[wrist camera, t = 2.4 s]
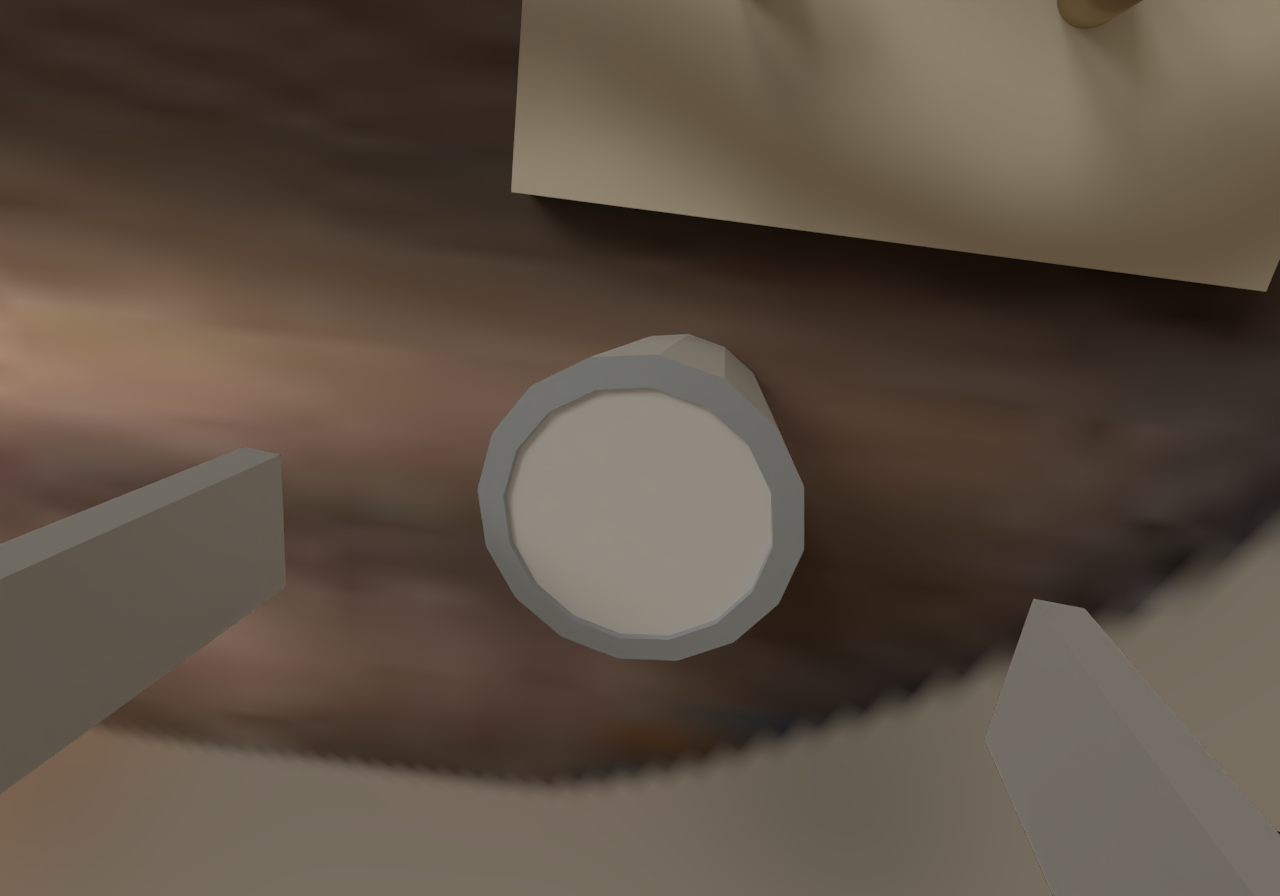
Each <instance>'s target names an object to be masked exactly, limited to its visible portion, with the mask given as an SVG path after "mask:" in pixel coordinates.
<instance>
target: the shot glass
mask: <svg viewBox="0 0 1280 896" xmlns="http://www.w3.org/2000/svg"><path fill="white" fill-rule="evenodd" d="M477 490H478V496H479V503H480V509H481V516H482V523H483V529H484V536H485V543H486V547H487V549H488V551H489V553H490V554H491V556H492V558H493V560H494V561H495V563H496V565H497V566H498V568H499V570H500V572H501V573H502V575H503V577H504V579H505V580H506V582H507V584H508V586H509V587H510V589H511V591H512V592H513V594H514V596H515V598H516V599H518V600H519V601H520V602H521V603H522V604H523V605H525V606H526V607H527V608H528V609H529V610H531V611H532V612H533V613H534V614H535V615H536V616H538V617H539V618H540V619H541V620H542V621H544V622H545V623H546V624H547V625H548V626H549V627H551V628H552V629H553V630H554V631H555V632H557V633H558V634H559V635H560V636H561V637H564V638H566V639H569V640H571V641H574V642H577V643H579V644H582V645H584V646H587V647H589V648H592V649H594V650H597V651H600V652H602V653H605V654H607V655H610V656H612V657H615V658H618V659H644V660H670V661H678V660H681V659H684V658H687V657H690V656H694V655H697V654H700V653H703V652H706V651H709V650H712V649H715V648H718V647H721V646H724V645H727V644H730V643H733V642H735V641H736V640H737V639H738V638H739V637H741V636H742V635H743V634H744V633H745V632H746V631H748V630H749V629H750V628H751V627H752V626H753V625H755V624H756V623H757V622H758V621H759V620H760V619H762V618H763V617H764V616H765V615H766V614H767V613H769V612H770V611H771V610H772V609H773V608H774V607H776V606H777V605H778V604H779V602H780V600H781V598H782V596H783V594H784V591H785V589H786V587H787V585H788V583H789V581H790V579H791V577H792V574H793V572H794V570H795V568H796V566H797V564H798V562H799V560H800V557H801V555H802V553H803V551H804V485H803V483H802V481H801V479H800V476H799V474H798V472H797V470H796V467H795V465H794V463H793V461H792V458H791V456H790V454H789V452H788V449H787V447H786V445H785V442H784V440H783V438H782V436H781V433H780V431H779V429H778V427H777V424H776V422H775V420H774V418H773V415H772V413H771V411H770V409H769V406H768V404H767V402H766V400H765V398H764V395H763V393H762V391H761V389H760V387H759V384H758V382H757V380H756V378H755V376H754V374H753V372H752V371H751V370H749V369H748V368H747V367H746V366H745V365H744V364H743V363H742V362H741V361H740V360H739V359H737V358H736V357H735V356H734V355H733V354H732V353H731V352H730V351H729V350H728V349H727V348H725V347H723V346H720V345H718V344H715V343H712V342H709V341H707V340H704V339H701V338H698V337H695V336H693V335H690V334H682V335H661V336H650V337H647V338H644V339H641V340H638V341H635V342H632V343H629V344H627V345H624V346H621V347H618V348H615V349H612V350H609V351H606V352H603V353H601V354H598V355H595V356H592V357H589V358H587V359H585V360H583V361H581V362H579V363H577V364H575V365H573V366H571V367H568V368H566V369H564V370H562V371H560V372H558V373H556V374H554V375H552V376H550V377H548V378H546V379H544V380H542V381H540V382H538V383H536V384H533V385H531V386H530V388H529V389H528V390H527V391H526V392H525V394H524V395H523V396H522V397H521V398H520V400H519V401H518V402H517V403H516V405H515V406H514V407H513V408H512V409H511V411H510V412H509V413H508V414H507V415H506V417H505V418H504V419H503V420H502V422H501V423H500V424H499V425H498V426H497V428H496V429H495V430H494V431H493V432H492V436H491V440H490V444H489V447H488V451H487V455H486V459H485V462H484V466H483V470H482V474H481V478H480V481H479V485H478V489H477Z"/></svg>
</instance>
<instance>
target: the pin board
mask: <svg viewBox="0 0 1280 896" xmlns="http://www.w3.org/2000/svg"><path fill="white" fill-rule="evenodd" d="M511 192H515V193H522V194H529V195H537V196H544V197H552V198H559V199H567V200H575V201H582V202H590V203H597V204H605V205H612V206H620V207H628V208H635V209H643V210H650V211H658V212H665V213H673V214H681V215H688V216H696V217H703V218H711V219H718V220H726V221H733V222H741V223H749V224H756V225H764V226H771V227H779V228H786V229H794V230H802V231H809V232H817V233H824V234H832V235H839V236H847V237H855V238H862V239H870V240H877V241H885V242H892V243H900V244H908V245H915V246H923V247H930V248H938V249H945V250H953V251H960V252H968V253H976V254H983V255H991V256H998V257H1006V258H1013V259H1021V260H1029V261H1036V262H1044V263H1051V264H1059V265H1066V266H1074V267H1082V268H1089V269H1097V270H1104V271H1112V272H1119V273H1127V274H1134V275H1142V276H1150V277H1157V278H1165V279H1172V280H1180V281H1187V282H1195V283H1203V284H1210V285H1218V286H1225V287H1233V288H1241V289H1249V290H1257V291H1265V292H1266V291H1267V288H1268V286H1269V284H1270V281H1271V279H1272V276H1273V274H1274V272H1275V269H1276V267H1277V264H1278V262H1279V260H1280V0H523V2H522V18H521V35H520V52H519V69H518V86H517V102H516V119H515V136H514V153H513V169H512V186H511Z"/></svg>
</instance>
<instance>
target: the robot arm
mask: <svg viewBox="0 0 1280 896" xmlns="http://www.w3.org/2000/svg"><path fill="white" fill-rule="evenodd" d="M285 587H286V573H285V548H284V523H283V498H282V473H281V454H276V453H271V452H265V451H260V450H255V449H250V448H244V447H242V448H240V449H237V450H235V451H232V452H230V453H227V454H225V455H222V456H220V457H217V458H215V459H212V460H210V461H207V462H205V463H202V464H200V465H197V466H195V467H192V468H190V469H187V470H185V471H182V472H180V473H177V474H175V475H172V476H170V477H167V478H165V479H162V480H160V481H157V482H155V483H152V484H149V485H147V486H144V487H142V488H139V489H137V490H134V491H132V492H129V493H127V494H124V495H122V496H119V497H117V498H114V499H112V500H109V501H107V502H104V503H102V504H99V505H97V506H94V507H92V508H89V509H87V510H84V511H82V512H79V513H77V514H74V515H72V516H69V517H67V518H64V519H62V520H59V521H57V522H54V523H52V524H49V525H47V526H44V527H42V528H39V529H37V530H34V531H32V532H29V533H27V534H24V535H22V536H19V537H17V538H14V539H12V540H9V541H7V542H4V543H2V544H0V794H1V793H3V792H4V791H5V790H7V789H8V788H9V787H11V786H12V785H14V784H15V783H16V782H18V781H19V780H20V779H22V778H23V777H24V776H26V775H27V774H29V773H30V772H31V771H33V770H34V769H35V768H37V767H38V766H40V765H41V764H42V763H44V762H45V761H47V760H48V759H49V758H51V757H52V756H54V755H55V754H56V753H58V752H59V751H60V750H62V749H63V748H65V747H66V746H67V745H69V744H70V743H71V742H73V741H74V740H75V739H77V738H78V737H80V736H81V735H82V734H84V733H85V732H87V731H88V730H89V729H91V728H92V727H93V726H95V725H96V724H98V723H99V722H100V721H102V720H103V719H104V718H106V717H107V716H109V715H110V714H111V713H113V712H114V711H116V710H117V709H118V708H120V707H121V706H122V705H124V704H125V703H127V702H128V701H129V700H131V699H132V698H133V697H135V696H136V695H138V694H139V693H140V692H142V691H143V690H144V689H146V688H147V687H149V686H150V685H151V684H153V683H154V682H155V681H157V680H158V679H160V678H161V677H162V676H164V675H165V674H167V673H168V672H169V671H171V670H172V669H173V668H175V667H176V666H178V665H179V664H180V663H182V662H183V661H184V660H186V659H187V658H189V657H190V656H191V655H193V654H194V653H195V652H197V651H198V650H200V649H201V648H202V647H204V646H205V645H206V644H208V643H209V642H211V641H212V640H213V639H215V638H216V637H217V636H219V635H220V634H222V633H223V632H224V631H226V630H227V629H229V628H230V627H231V626H233V625H234V624H235V623H237V622H238V621H240V620H241V619H242V618H244V617H245V616H246V615H248V614H249V613H251V612H252V611H253V610H255V609H256V608H257V607H259V606H260V605H262V604H263V603H264V602H266V601H267V600H268V599H270V598H271V597H273V596H274V595H275V594H277V593H278V592H280V591H281V590H282V589H284V588H285ZM984 740H985V742H986V745H987V747H988V749H989V752H990V754H991V756H992V758H993V761H994V763H995V765H996V768H997V770H998V772H999V774H1000V777H1001V779H1002V781H1003V783H1004V786H1005V788H1006V790H1007V793H1008V795H1009V797H1010V799H1011V802H1012V804H1013V806H1014V809H1015V811H1016V813H1017V816H1018V818H1019V820H1020V822H1021V824H1022V827H1023V829H1024V832H1025V834H1026V836H1027V839H1028V841H1029V843H1030V845H1031V848H1032V849H1033V852H1034V855H1035V857H1036V859H1037V861H1038V864H1039V866H1040V868H1041V871H1042V873H1043V875H1044V877H1045V880H1046V882H1047V884H1048V887H1049V889H1050V891H1051V893H1052V896H1280V832H1278V831H1276V830H1275V829H1274V828H1273V826H1272V825H1271V824H1270V823H1269V822H1268V821H1267V819H1266V818H1265V817H1264V816H1263V815H1262V814H1261V812H1260V811H1259V810H1258V809H1257V808H1256V807H1255V805H1254V804H1253V803H1252V802H1251V801H1250V800H1249V799H1248V797H1247V796H1246V795H1245V794H1244V793H1243V792H1242V790H1241V789H1240V788H1239V787H1238V786H1237V785H1236V783H1235V782H1234V781H1233V780H1232V779H1231V778H1230V777H1229V775H1228V774H1227V773H1226V772H1225V771H1224V770H1223V769H1222V767H1221V766H1220V765H1219V764H1218V763H1217V761H1216V760H1215V759H1214V758H1213V757H1212V756H1211V755H1210V754H1209V752H1208V751H1207V750H1206V749H1205V748H1204V747H1203V745H1202V744H1201V743H1200V742H1199V741H1198V739H1197V738H1196V737H1195V736H1194V735H1193V734H1192V733H1191V731H1190V730H1189V729H1188V728H1187V727H1186V726H1185V724H1184V723H1183V722H1182V721H1181V720H1180V719H1179V717H1178V716H1177V715H1176V714H1175V713H1174V712H1173V711H1172V709H1171V708H1170V707H1169V706H1168V705H1167V704H1166V702H1165V701H1164V700H1163V699H1162V698H1161V697H1160V695H1159V694H1158V693H1157V692H1156V691H1155V690H1154V689H1153V687H1152V686H1151V685H1150V684H1149V683H1148V681H1147V680H1146V679H1145V678H1144V677H1143V676H1142V675H1141V673H1140V672H1139V671H1138V670H1137V669H1136V668H1135V666H1134V665H1133V664H1132V663H1131V662H1130V661H1129V660H1128V659H1127V657H1126V656H1125V655H1124V654H1123V653H1122V651H1121V650H1120V649H1119V648H1118V647H1117V646H1116V644H1115V643H1114V642H1113V641H1112V640H1111V639H1110V637H1109V636H1108V635H1107V634H1106V633H1105V632H1104V631H1103V629H1102V628H1101V627H1100V626H1099V625H1098V624H1097V622H1096V621H1095V620H1094V619H1093V618H1092V617H1091V615H1090V614H1089V613H1088V612H1087V611H1086V610H1085V609H1084V608H1079V607H1074V606H1069V605H1063V604H1058V603H1053V602H1048V601H1042V600H1037V599H1033V602H1032V604H1031V607H1030V610H1029V613H1028V616H1027V619H1026V621H1025V624H1024V627H1023V630H1022V633H1021V636H1020V639H1019V641H1018V644H1017V647H1016V650H1015V653H1014V656H1013V658H1012V661H1011V664H1010V667H1009V670H1008V673H1007V676H1006V678H1005V681H1004V684H1003V687H1002V690H1001V693H1000V695H999V698H998V701H997V704H996V707H995V710H994V713H993V715H992V718H991V721H990V724H989V727H988V730H987V732H986V736H985V738H984Z"/></svg>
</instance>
